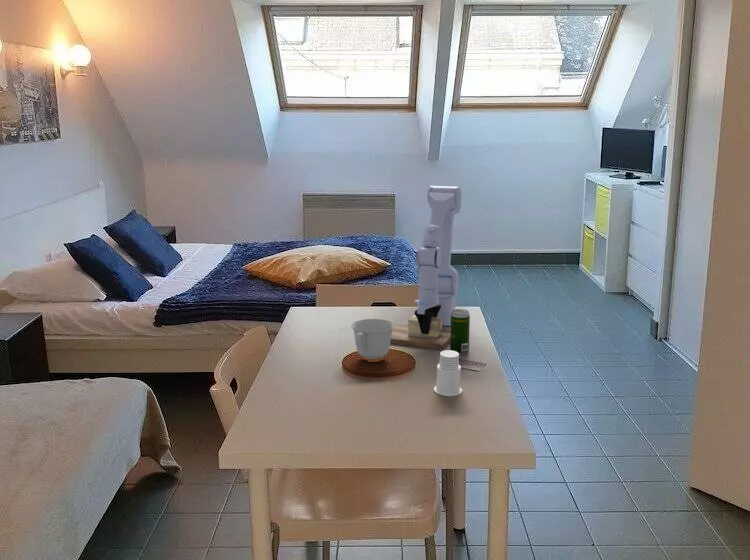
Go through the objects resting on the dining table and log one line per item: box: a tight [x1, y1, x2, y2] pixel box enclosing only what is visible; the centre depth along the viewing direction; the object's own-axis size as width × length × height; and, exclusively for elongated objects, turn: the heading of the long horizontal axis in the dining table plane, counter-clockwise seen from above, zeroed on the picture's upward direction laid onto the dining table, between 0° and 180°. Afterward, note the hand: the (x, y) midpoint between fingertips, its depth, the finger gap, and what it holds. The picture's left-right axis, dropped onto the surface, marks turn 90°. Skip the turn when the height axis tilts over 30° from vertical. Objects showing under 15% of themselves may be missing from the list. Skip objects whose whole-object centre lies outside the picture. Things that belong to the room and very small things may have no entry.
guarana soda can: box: [449, 308, 471, 356], centre depth 207 cm, size 5×5×12 cm
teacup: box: [350, 318, 395, 359], centre depth 200 cm, size 12×15×10 cm
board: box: [390, 323, 451, 351], centre depth 220 cm, size 14×20×2 cm
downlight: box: [433, 349, 463, 397], centre depth 179 cm, size 8×7×10 cm
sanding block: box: [407, 314, 443, 339], centre depth 218 cm, size 5×9×5 cm, turn 68°
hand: (427, 331), depth 218 cm, fingers closed on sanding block, 5 cm apart
